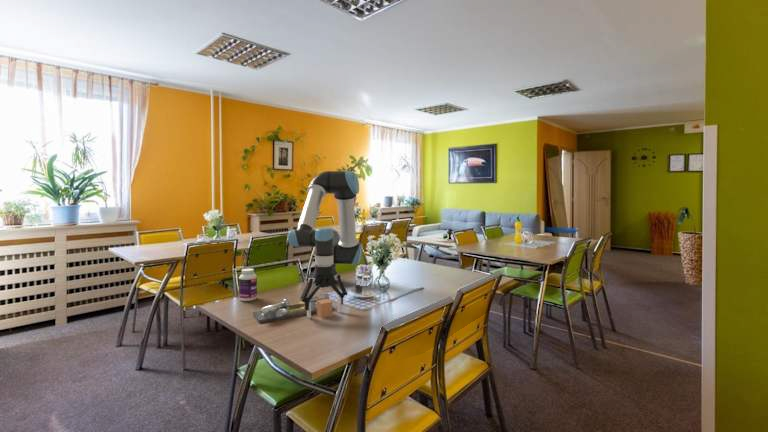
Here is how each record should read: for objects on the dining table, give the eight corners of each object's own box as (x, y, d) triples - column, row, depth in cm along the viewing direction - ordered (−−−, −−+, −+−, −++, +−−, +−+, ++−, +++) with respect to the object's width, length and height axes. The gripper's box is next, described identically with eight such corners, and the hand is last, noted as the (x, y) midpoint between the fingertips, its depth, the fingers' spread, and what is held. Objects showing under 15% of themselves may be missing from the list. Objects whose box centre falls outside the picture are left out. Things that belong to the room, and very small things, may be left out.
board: (324, 303, 172) (324, 294, 171) (333, 309, 162) (333, 300, 162) (252, 315, 155) (252, 305, 155) (259, 323, 146) (258, 312, 145)
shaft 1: (282, 310, 157) (282, 297, 156) (289, 313, 154) (289, 300, 153) (259, 318, 148) (258, 304, 147) (266, 320, 145) (265, 306, 144)
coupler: (327, 312, 159) (327, 298, 159) (332, 315, 155) (332, 301, 155) (316, 314, 157) (316, 300, 156) (321, 318, 152) (321, 303, 152)
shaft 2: (305, 309, 159) (305, 296, 158) (301, 306, 163) (301, 293, 162) (329, 305, 165) (329, 292, 164) (325, 302, 169) (325, 290, 168)
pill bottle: (253, 302, 172) (252, 271, 171) (236, 301, 172) (235, 271, 171) (259, 296, 180) (259, 267, 179) (243, 296, 180) (242, 267, 179)
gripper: (347, 260, 164) (347, 307, 165) (292, 266, 151) (292, 317, 152) (355, 263, 157) (354, 312, 159) (298, 269, 144) (298, 322, 146)
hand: (324, 314), depth 156 cm, fingers open, 13 cm apart
